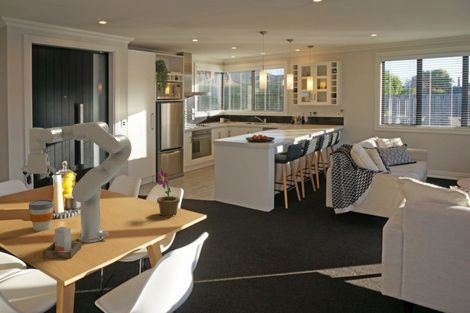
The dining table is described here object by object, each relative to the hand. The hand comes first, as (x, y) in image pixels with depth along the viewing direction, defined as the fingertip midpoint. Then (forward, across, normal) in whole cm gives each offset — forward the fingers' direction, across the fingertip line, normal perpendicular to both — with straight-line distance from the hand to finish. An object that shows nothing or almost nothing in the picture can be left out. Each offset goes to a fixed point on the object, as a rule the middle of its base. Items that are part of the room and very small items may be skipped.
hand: (39, 184), depth 202 cm
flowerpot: (+28, -62, -41) cm, 79 cm away
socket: (+28, -20, +22) cm, 41 cm away
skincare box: (+28, -20, +22) cm, 41 cm away
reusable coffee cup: (+29, +5, -14) cm, 32 cm away
